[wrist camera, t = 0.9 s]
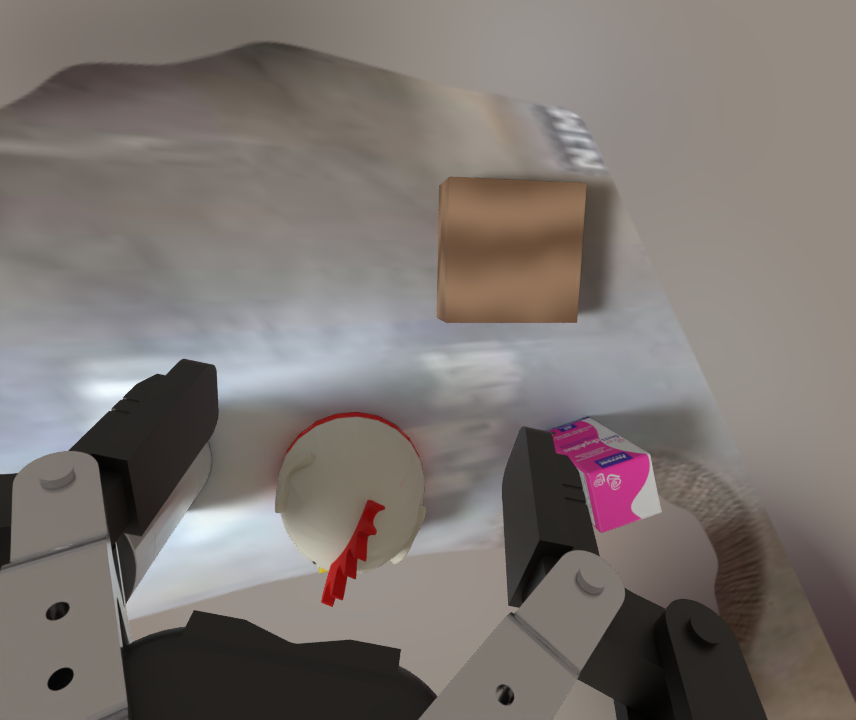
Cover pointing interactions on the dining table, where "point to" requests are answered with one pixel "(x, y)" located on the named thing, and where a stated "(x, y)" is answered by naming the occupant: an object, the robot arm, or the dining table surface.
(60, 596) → the robot arm
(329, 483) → the kitchen timer
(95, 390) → the dining table surface
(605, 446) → the supplement box
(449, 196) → the walnut block
